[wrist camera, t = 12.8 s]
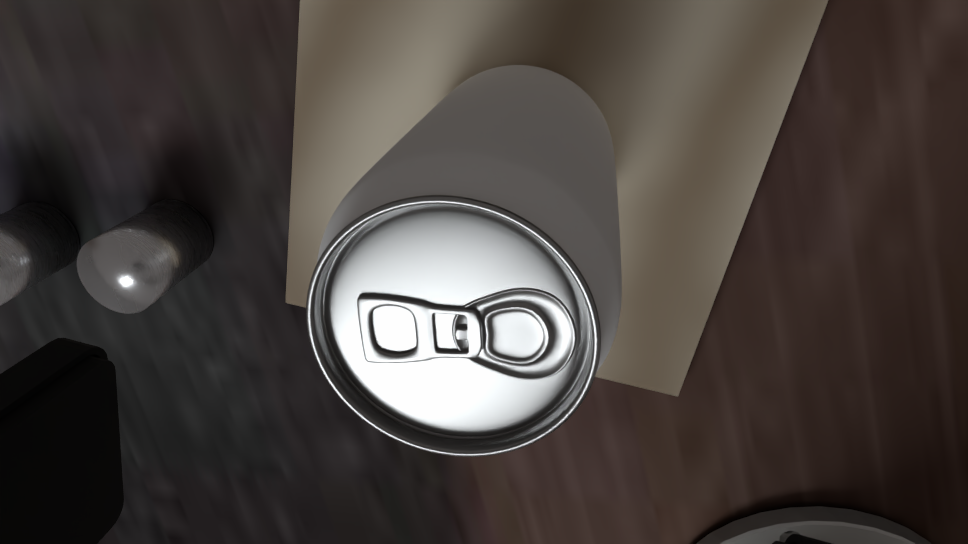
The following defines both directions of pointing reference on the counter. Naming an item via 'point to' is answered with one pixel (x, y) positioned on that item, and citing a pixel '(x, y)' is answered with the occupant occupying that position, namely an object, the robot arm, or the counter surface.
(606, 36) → the board
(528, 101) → the can
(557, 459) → the counter surface
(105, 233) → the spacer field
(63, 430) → the robot arm
